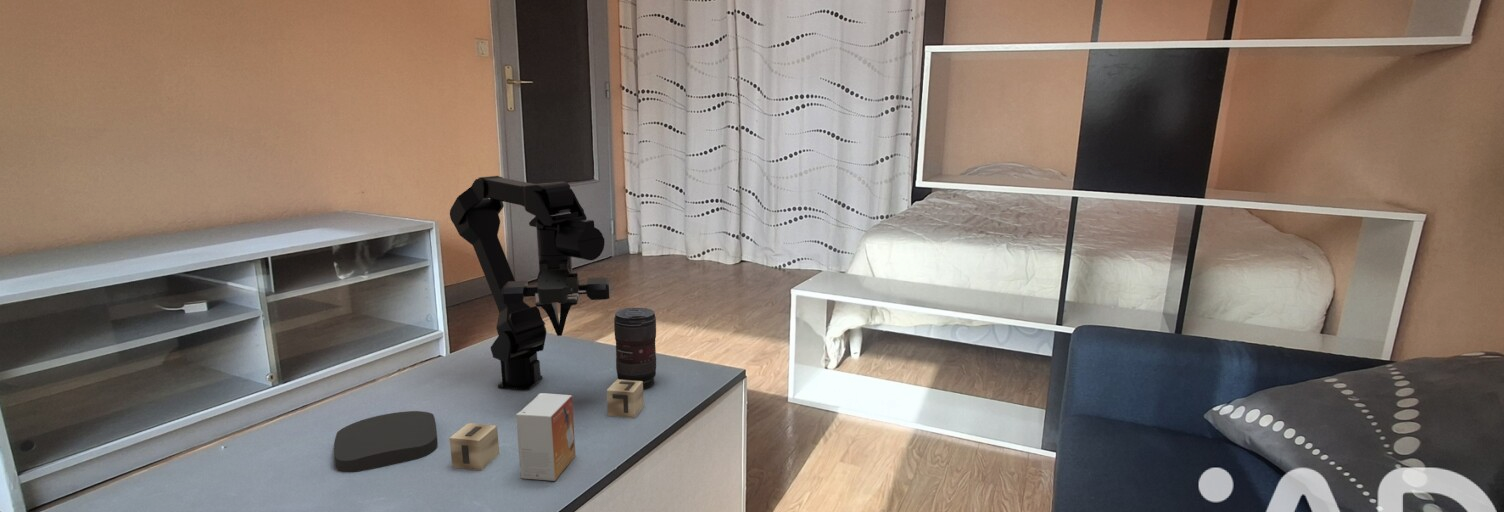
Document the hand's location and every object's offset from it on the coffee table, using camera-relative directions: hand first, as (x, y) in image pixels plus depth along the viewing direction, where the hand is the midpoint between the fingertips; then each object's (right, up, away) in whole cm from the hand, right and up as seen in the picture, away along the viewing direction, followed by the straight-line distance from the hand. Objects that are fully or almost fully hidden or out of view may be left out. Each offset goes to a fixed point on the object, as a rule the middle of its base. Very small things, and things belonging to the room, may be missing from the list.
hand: (559, 335), depth 126 cm
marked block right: (+12, -14, -1) cm, 19 cm away
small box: (+4, -18, -20) cm, 28 cm away
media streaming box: (-24, -17, -14) cm, 33 cm away
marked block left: (-8, -18, -19) cm, 27 cm away
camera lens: (+13, -11, +11) cm, 20 cm away
